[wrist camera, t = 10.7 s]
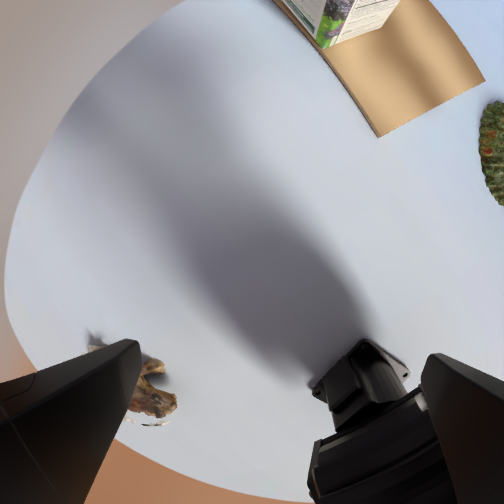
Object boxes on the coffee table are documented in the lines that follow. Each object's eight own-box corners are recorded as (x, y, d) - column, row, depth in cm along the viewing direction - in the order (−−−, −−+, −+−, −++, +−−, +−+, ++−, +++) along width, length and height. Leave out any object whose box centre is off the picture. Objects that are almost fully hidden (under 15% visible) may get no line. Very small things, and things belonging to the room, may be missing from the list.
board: (387, -37, 14) (389, -41, 13) (482, 82, 16) (485, 80, 15) (269, -4, 16) (269, -8, 16) (378, 138, 18) (381, 136, 18)
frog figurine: (175, 325, 23) (160, 348, 19) (200, 429, 25) (192, 456, 22) (69, 321, 24) (46, 338, 20) (104, 416, 26) (90, 437, 23)
